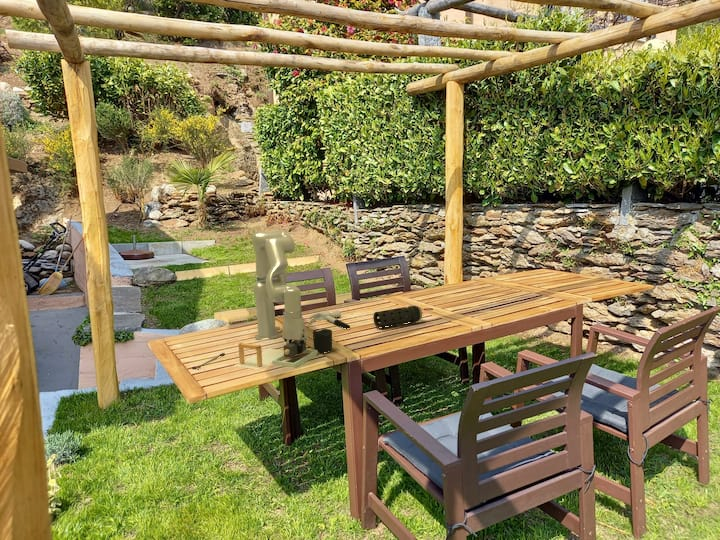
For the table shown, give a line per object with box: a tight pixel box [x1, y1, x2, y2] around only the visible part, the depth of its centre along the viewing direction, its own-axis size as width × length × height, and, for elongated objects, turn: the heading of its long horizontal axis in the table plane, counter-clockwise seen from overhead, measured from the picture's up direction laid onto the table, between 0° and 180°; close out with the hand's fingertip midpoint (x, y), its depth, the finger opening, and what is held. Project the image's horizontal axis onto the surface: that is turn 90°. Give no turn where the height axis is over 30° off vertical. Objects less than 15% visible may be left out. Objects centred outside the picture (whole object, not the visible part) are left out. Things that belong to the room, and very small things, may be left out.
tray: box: [271, 348, 319, 369], centre depth 219 cm, size 20×12×2 cm, turn 155°
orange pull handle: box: [237, 342, 263, 367], centre depth 212 cm, size 2×11×9 cm, turn 65°
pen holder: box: [312, 328, 333, 353], centre depth 231 cm, size 9×9×10 cm
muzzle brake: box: [372, 305, 423, 329], centre depth 273 cm, size 10×28×10 cm, turn 117°
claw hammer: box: [308, 310, 351, 329], centre depth 280 cm, size 5×22×30 cm
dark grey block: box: [282, 340, 307, 358], centre depth 219 cm, size 14×4×5 cm, turn 155°
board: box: [233, 348, 284, 371], centre depth 221 cm, size 26×14×1 cm, turn 155°
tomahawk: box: [192, 352, 226, 371], centre depth 221 cm, size 21×7×1 cm, turn 157°
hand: (295, 352), depth 219 cm, fingers closed on dark grey block, 4 cm apart
